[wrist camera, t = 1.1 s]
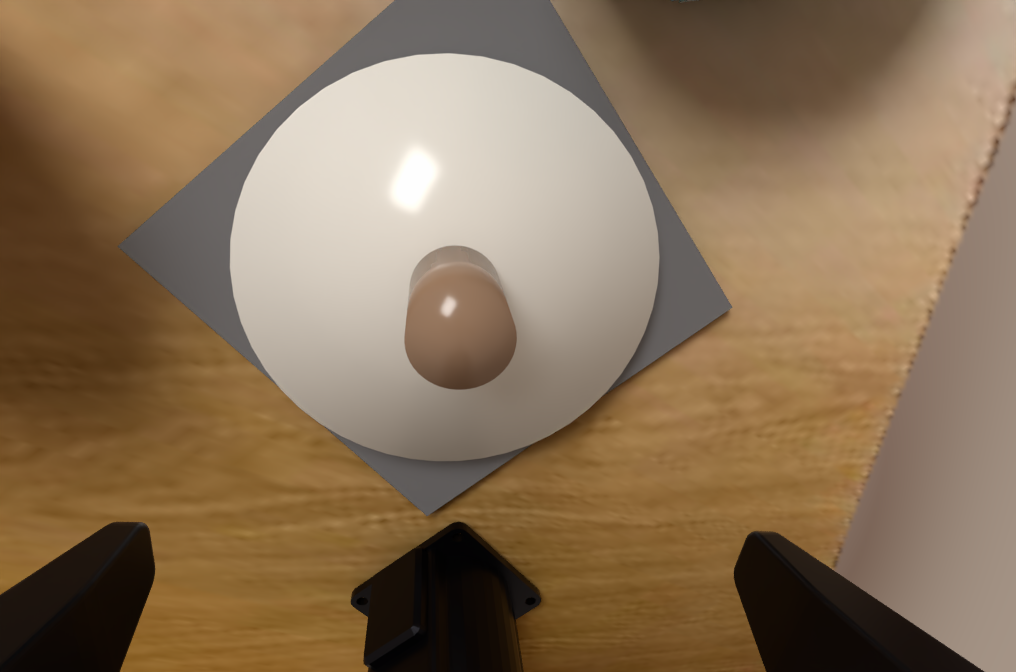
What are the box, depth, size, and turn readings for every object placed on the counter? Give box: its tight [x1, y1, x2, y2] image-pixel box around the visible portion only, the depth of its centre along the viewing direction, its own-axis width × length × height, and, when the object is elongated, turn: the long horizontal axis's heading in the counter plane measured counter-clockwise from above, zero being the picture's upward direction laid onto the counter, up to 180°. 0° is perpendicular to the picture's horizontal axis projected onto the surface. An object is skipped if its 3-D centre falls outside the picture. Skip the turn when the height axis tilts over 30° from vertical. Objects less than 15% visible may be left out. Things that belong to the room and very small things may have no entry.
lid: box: [230, 53, 660, 461], centre depth 17 cm, size 14×14×5 cm
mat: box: [118, 0, 732, 516], centre depth 20 cm, size 15×15×1 cm
